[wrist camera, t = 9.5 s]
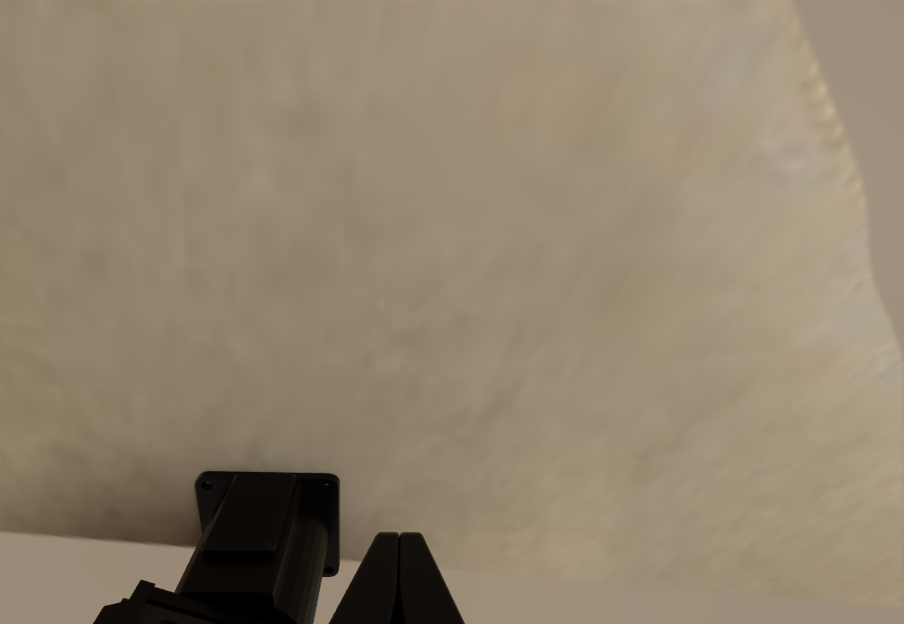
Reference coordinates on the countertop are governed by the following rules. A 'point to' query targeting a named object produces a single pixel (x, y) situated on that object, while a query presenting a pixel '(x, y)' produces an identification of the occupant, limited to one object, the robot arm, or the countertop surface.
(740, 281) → the countertop surface
